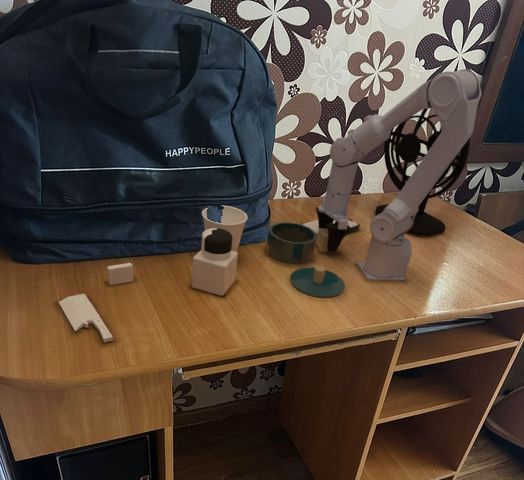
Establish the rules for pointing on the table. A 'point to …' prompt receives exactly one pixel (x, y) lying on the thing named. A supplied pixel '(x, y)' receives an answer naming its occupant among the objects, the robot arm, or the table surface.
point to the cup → (228, 223)
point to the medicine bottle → (215, 262)
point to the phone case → (351, 223)
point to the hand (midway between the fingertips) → (327, 243)
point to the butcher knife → (84, 315)
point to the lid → (317, 282)
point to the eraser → (120, 273)
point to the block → (322, 239)
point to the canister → (291, 243)
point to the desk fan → (409, 153)
